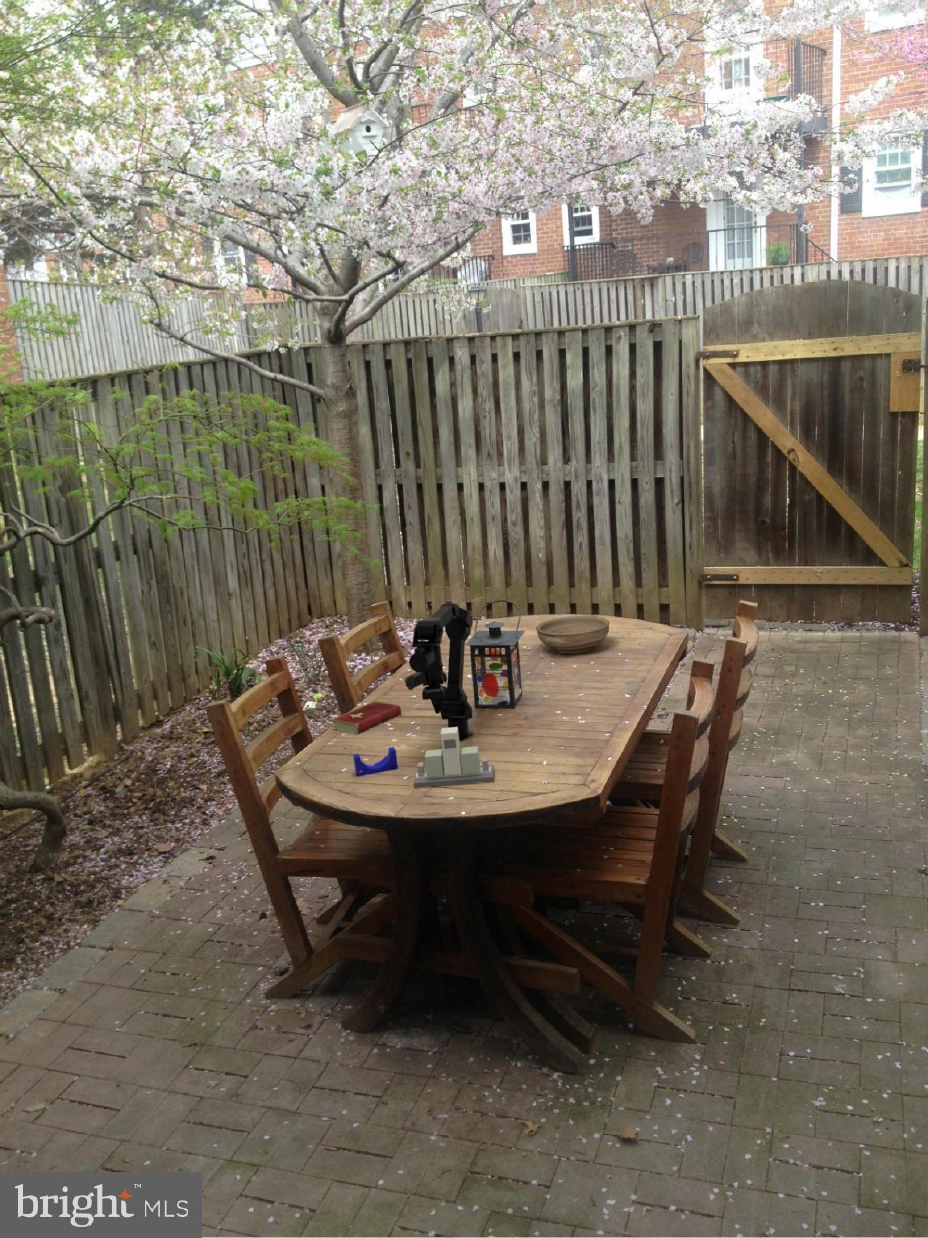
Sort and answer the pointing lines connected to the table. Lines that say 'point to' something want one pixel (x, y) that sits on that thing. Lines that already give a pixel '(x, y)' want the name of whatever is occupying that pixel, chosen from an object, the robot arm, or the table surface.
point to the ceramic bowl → (573, 633)
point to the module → (451, 751)
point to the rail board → (469, 774)
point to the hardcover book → (366, 717)
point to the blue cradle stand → (376, 764)
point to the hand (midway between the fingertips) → (437, 713)
